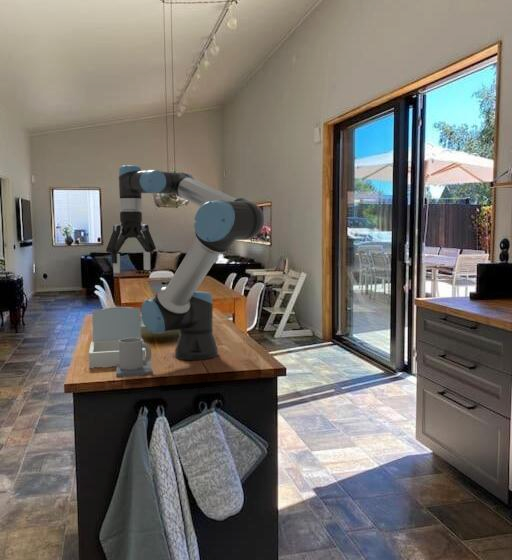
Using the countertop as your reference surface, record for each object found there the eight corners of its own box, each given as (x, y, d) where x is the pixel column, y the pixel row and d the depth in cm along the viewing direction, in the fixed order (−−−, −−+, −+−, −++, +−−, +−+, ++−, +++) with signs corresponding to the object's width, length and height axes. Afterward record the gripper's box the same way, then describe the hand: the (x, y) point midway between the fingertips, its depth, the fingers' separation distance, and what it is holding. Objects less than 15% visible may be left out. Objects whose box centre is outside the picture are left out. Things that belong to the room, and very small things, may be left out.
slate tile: (152, 374, 176) (152, 371, 175) (116, 376, 173) (116, 373, 173) (150, 365, 186) (150, 362, 186) (116, 367, 184) (116, 364, 183)
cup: (120, 365, 183) (119, 338, 182) (151, 363, 184) (151, 337, 183) (118, 371, 176) (117, 343, 175) (151, 369, 177) (150, 341, 176)
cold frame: (145, 364, 187) (144, 318, 186) (89, 368, 183) (87, 320, 181) (142, 349, 210) (141, 307, 208) (92, 352, 205) (90, 309, 204)
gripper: (150, 211, 209) (152, 268, 211) (94, 210, 189) (96, 273, 192) (164, 211, 204) (165, 269, 206) (108, 210, 185) (110, 274, 187)
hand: (132, 271), depth 199 cm, fingers open, 13 cm apart
